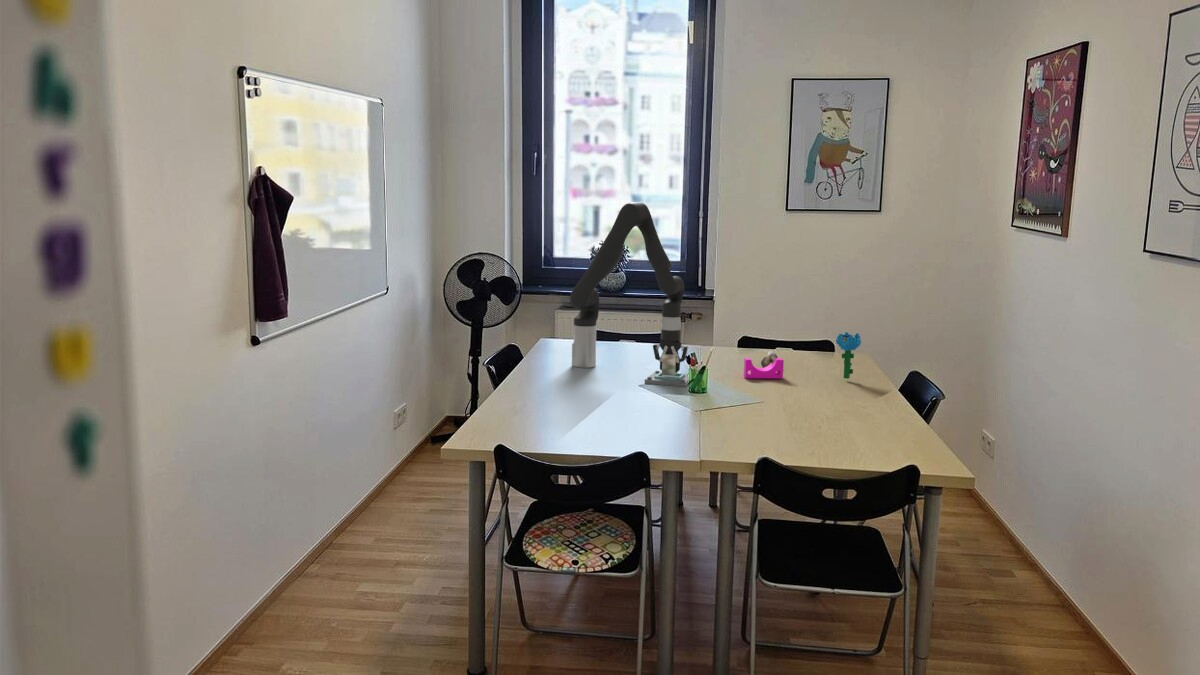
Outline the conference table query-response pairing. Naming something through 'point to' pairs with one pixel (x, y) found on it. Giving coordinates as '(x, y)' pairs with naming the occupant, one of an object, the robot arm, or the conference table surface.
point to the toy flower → (848, 350)
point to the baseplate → (667, 379)
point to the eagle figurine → (768, 359)
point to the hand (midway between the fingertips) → (669, 371)
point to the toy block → (764, 369)
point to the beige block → (668, 364)
